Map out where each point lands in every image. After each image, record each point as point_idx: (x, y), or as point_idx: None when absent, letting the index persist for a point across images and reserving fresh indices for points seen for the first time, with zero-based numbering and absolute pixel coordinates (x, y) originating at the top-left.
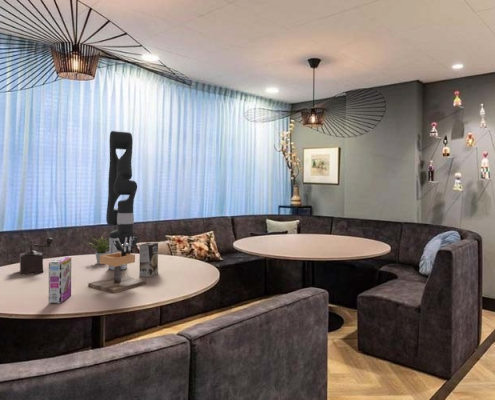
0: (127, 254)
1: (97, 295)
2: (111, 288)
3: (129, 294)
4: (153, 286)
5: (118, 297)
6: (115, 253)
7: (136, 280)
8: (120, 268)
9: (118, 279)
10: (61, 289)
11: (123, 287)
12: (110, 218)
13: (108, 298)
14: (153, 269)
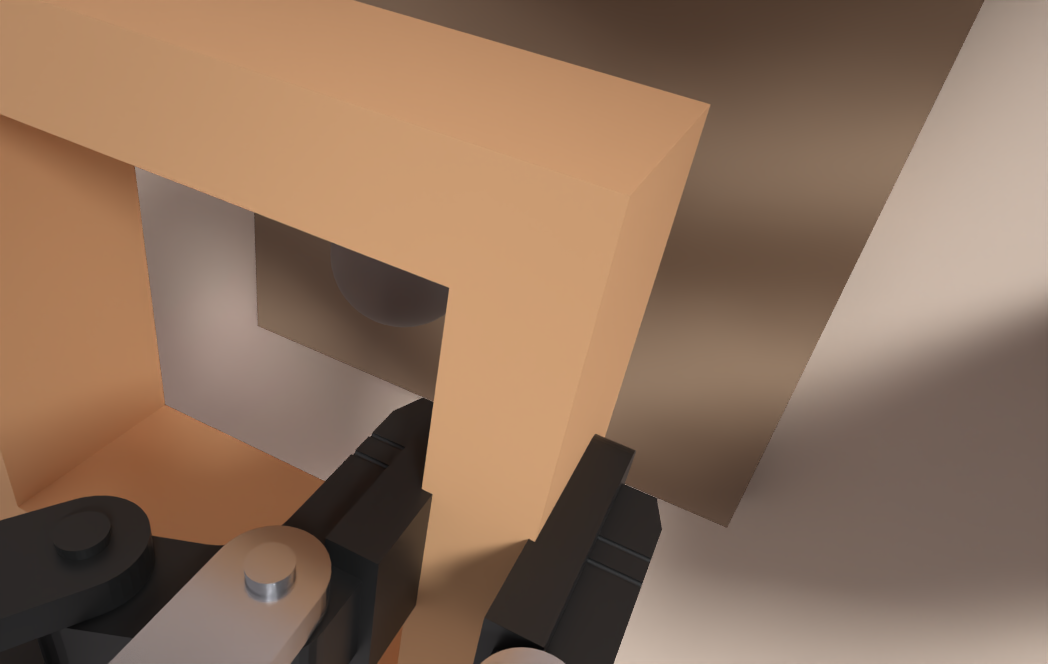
0: (400, 644)
1: (154, 192)
2: (267, 278)
3: (334, 461)
4: (656, 596)
5: (233, 408)
6: (304, 207)
7: (695, 406)
8: (419, 323)
9: None
10: None
11: (377, 373)
12: None
13: (171, 342)
14: None
